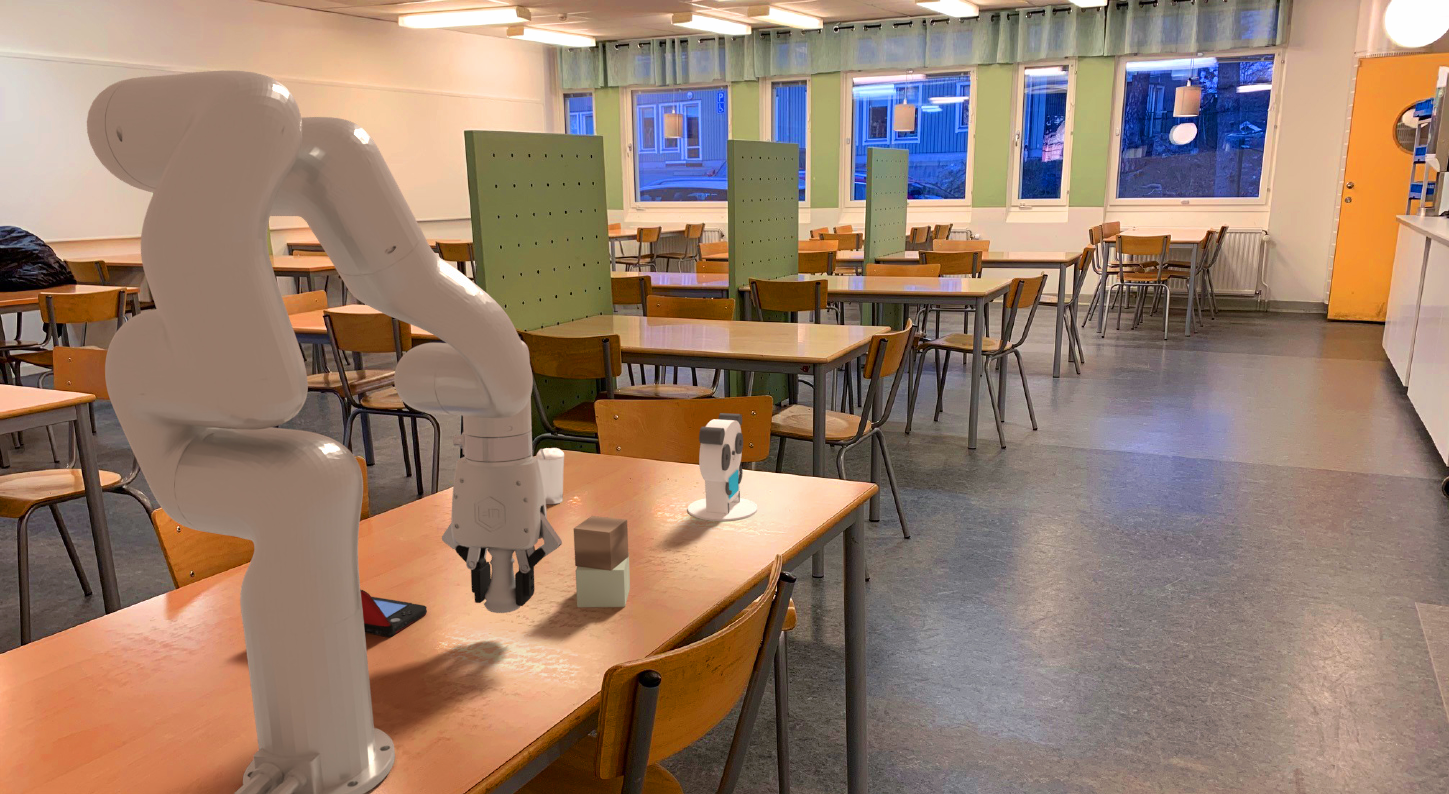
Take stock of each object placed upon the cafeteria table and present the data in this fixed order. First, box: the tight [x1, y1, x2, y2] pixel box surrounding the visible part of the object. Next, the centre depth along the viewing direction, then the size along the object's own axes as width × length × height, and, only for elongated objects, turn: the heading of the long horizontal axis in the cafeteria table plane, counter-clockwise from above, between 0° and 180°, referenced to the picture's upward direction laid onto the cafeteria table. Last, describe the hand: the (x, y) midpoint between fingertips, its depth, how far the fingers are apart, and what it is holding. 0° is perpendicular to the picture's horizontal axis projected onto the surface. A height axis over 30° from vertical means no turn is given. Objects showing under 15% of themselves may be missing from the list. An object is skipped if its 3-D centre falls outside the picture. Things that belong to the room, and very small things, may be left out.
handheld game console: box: [360, 589, 428, 638], centre depth 117 cm, size 12×11×7 cm
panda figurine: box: [687, 412, 759, 522], centre depth 156 cm, size 12×11×15 cm
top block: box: [573, 515, 630, 571], centre depth 123 cm, size 5×5×5 cm
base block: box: [575, 551, 631, 608], centre depth 124 cm, size 6×6×5 cm
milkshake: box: [535, 447, 565, 505], centre depth 162 cm, size 4×5×10 cm
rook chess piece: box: [483, 548, 521, 614], centre depth 113 cm, size 4×4×8 cm
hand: (503, 598), depth 113 cm, fingers closed on rook chess piece, 4 cm apart
